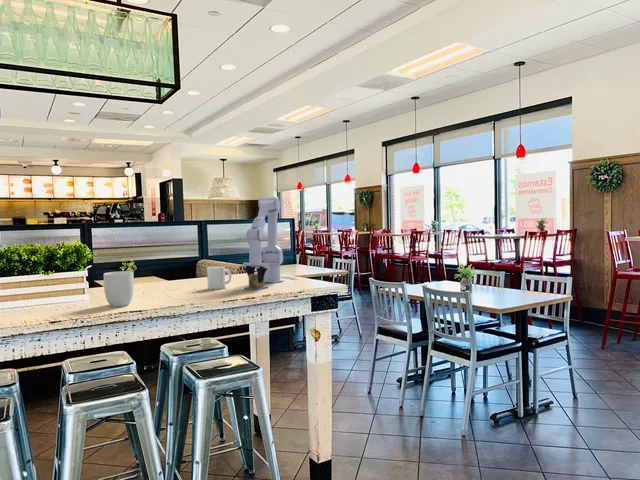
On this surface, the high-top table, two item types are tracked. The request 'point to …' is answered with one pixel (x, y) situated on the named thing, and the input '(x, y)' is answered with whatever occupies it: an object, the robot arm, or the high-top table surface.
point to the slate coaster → (256, 288)
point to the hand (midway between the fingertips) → (256, 282)
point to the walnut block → (255, 281)
